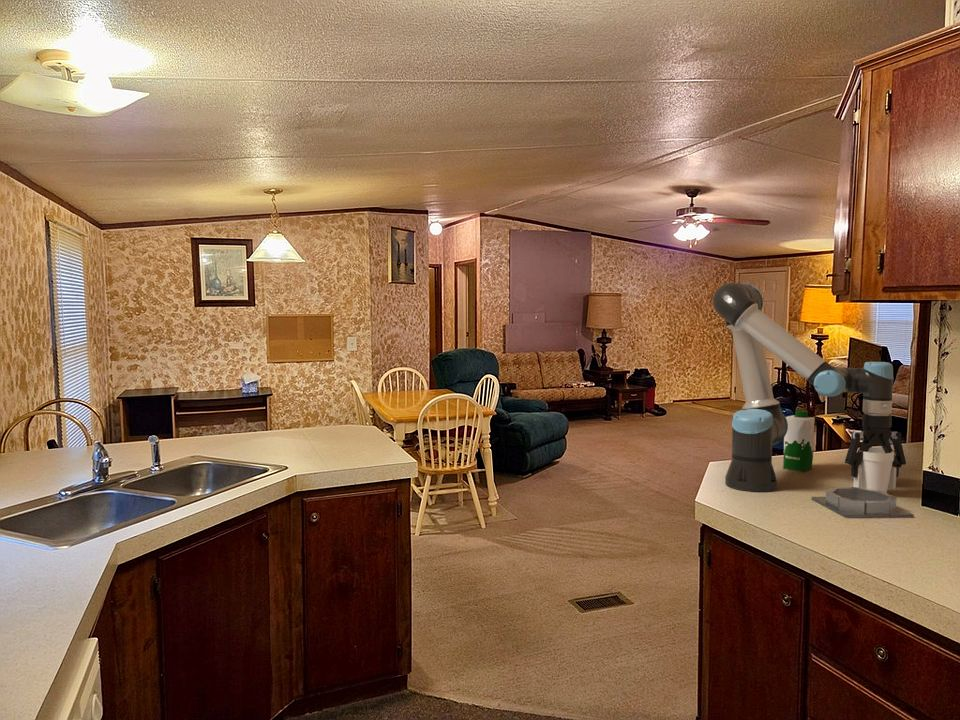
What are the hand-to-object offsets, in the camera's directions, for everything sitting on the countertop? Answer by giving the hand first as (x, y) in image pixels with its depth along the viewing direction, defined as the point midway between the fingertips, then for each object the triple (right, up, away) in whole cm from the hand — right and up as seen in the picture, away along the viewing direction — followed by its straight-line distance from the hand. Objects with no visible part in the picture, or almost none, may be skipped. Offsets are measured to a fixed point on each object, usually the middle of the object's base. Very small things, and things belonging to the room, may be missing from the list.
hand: (874, 487), depth 203 cm
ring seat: (-13, -3, -15) cm, 20 cm away
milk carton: (-8, 0, +33) cm, 34 cm away
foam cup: (0, -2, 0) cm, 2 cm away
